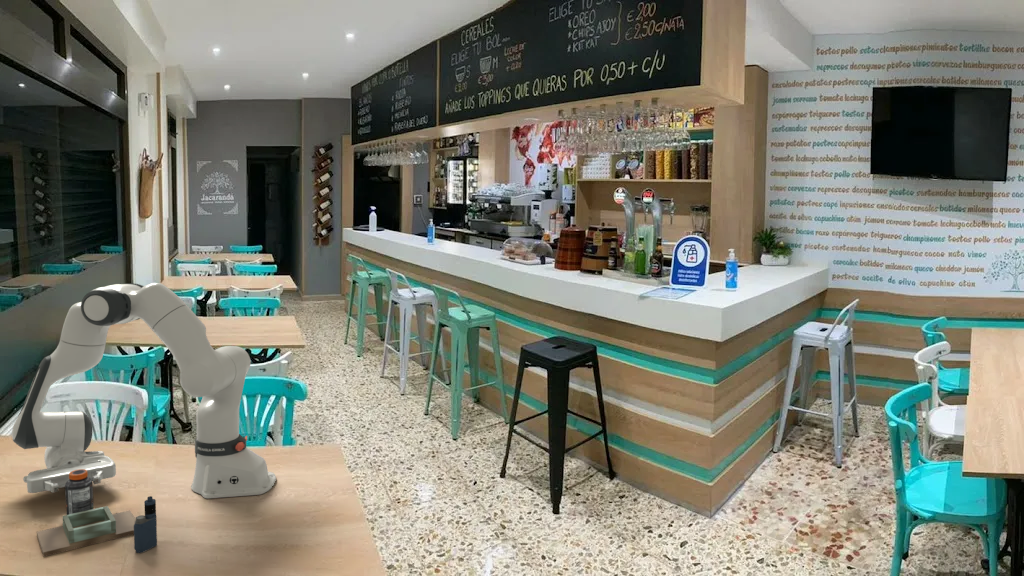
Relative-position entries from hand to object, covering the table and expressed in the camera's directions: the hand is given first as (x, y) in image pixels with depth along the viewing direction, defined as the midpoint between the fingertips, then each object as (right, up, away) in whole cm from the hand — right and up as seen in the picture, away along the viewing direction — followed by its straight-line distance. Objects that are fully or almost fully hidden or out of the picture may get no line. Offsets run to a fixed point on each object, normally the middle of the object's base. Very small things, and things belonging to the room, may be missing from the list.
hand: (76, 485), depth 182 cm
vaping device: (+28, -10, -18) cm, 35 cm away
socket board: (+11, -8, -13) cm, 19 cm away
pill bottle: (+3, -7, -3) cm, 8 cm away
